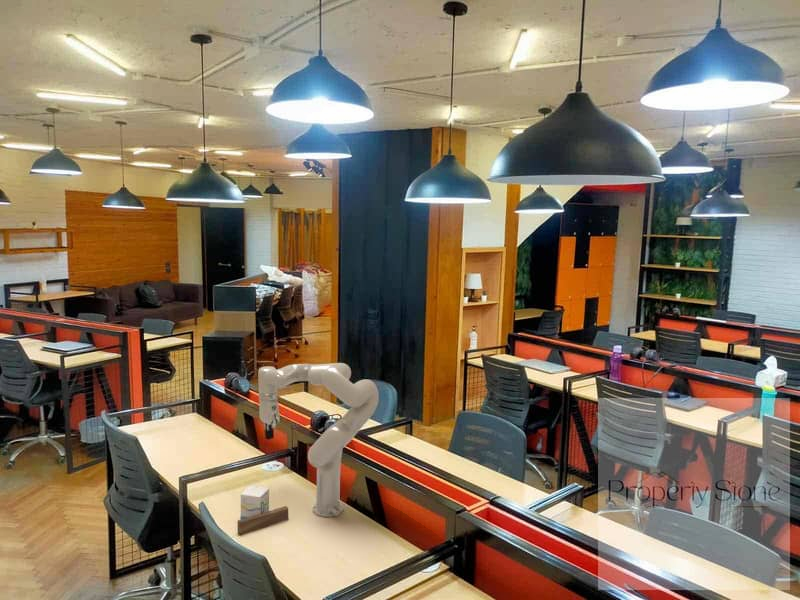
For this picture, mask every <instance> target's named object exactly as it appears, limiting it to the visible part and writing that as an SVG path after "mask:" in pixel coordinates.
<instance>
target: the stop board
mask: <svg viewBox="0 0 800 600" xmlns="http://www.w3.org/2000/svg"><path fill="white" fill-rule="evenodd" d="M288 520H289V507H288V506H287V505H284V506H281V507H278V508H275V509H271V510H269V511H268V512H264V513H261V514H258V515H254V516H251V517H248V518H245V519H241V520H240V519H238V520H237V534H238V536H242V535H246V534H249V533H252V532H255V531H257V530H261V529H263V528H267V527H271V526H273V525H277V524H279V523H282V522H286V521H288Z"/></svg>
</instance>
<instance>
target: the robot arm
mask: <svg viewBox="0 0 800 600" xmlns="http://www.w3.org/2000/svg"><path fill="white" fill-rule="evenodd" d="M257 375H258V376H257V377H258V378H257V379H258V401H259V407H258V408H259V409H258V411H259V413H258V414H259V420H260V421H261V422H262V423H263V426H264V427H263V428H264V439H265V440H267V441H268V440H271V439H274V437H275V436H274V435H275V434H274V432H275V431H274V430H275V428H277V424H279V423H281V421H280V419H281V418H280V408H279V401H278V388H279V389H281V388H285V387H287V386H289V385H291V384H293V383H295V382H296V383H297V382H309V383H310V385H312V386H324V387H325V388H326V389H327V390H328V391H329V392H331V394H333V395H334V396H335V397H336V398H338V399H339V401H341V402H342V403H344V404H345V405H346V406H348V407H350V408H349V409H348V411H347V412H345V414H344V415H343V416H342V417H341V418H340V419H338V420H337V421H335V423H333V424H331V426H329V427H328V428H327V429H326V430H325V431H324V432H323V433H322V434H321V435H320V436H319V438H318V439H316V440H315V442H314V443H313V444H312V445H311V446H310V448H309V450H308V452H307V459H308V462H309V464H310V465H311V466H312V467H314V468H316V503H314V504H313V506H312V513H314V515H315V516H318V517H323V518H332V517H338V516H339V515H340V514H342V513H343V512H344V504H343V503H341V501H340V499H341V497H340V495H341V493H340V491H341V465H342V463H341V462H342V457H343V450H344V449H343V448H345V447H346V446H347V445H348V444H349V443H350V442H351V441H352V440H353V439H354V437H356V434H358V433H359V432H360V430H361V429H362V428H363V427H364V425H365V424H366V423H367V422H368V421H369V420H370V418H371V417H372V416H373V415H374V413H375V411H376V409H377V407H378V404H379V390H378V387H377V385H376V383H375V382H374V381H372V380H371V379H365V378H364V379H361V380H358V381H357V382H355V383H353V382H351V381H350V378H351V376H352V370H351V368H350V366H349V365H348V364H346V363H344V362H332V363H331V362H330V363H329V362H328V363H316V364H315V363H313V364H312V363H297V364H296V363H295V364H294V363H293V364H288V365H286V366H283V367H280V368H277V369H276V367H275V366H269V365H268V366H266V365H265V366H262V367H260V368H259V369H258V371H257Z"/></svg>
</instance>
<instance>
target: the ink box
mask: <svg viewBox="0 0 800 600" xmlns="http://www.w3.org/2000/svg"><path fill="white" fill-rule="evenodd" d="M268 511H270V487H265V486H260V485H259V486H258V485H249V486H248V487H247V488H246V489H245V490H244V491H243V492H242V493H240V516H239V517H240V519H239V520H241V519H245V518H248V517H251V516H254V515H258V514H261V513H264V512H268Z"/></svg>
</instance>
